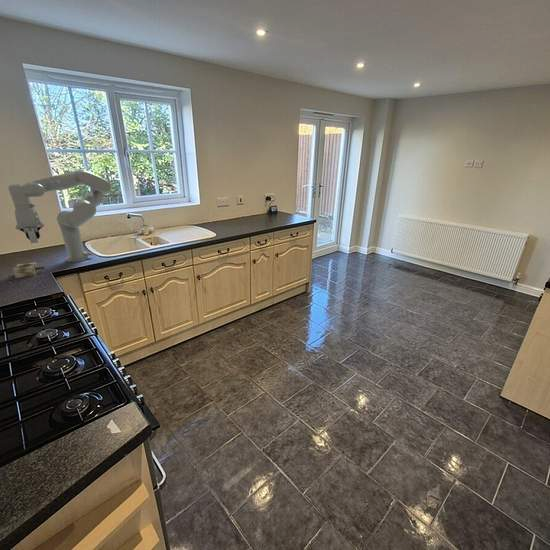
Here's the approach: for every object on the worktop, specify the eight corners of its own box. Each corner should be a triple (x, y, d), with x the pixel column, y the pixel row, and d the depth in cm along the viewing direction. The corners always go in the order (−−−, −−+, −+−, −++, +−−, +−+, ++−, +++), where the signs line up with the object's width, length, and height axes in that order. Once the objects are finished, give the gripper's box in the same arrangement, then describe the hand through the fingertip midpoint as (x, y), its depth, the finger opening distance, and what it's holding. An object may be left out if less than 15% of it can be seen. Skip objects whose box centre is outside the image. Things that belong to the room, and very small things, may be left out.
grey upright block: (39, 240, 180) (35, 225, 176) (37, 243, 175) (32, 227, 171) (32, 241, 178) (27, 226, 175) (30, 243, 173) (25, 228, 170)
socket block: (46, 269, 179) (44, 261, 177) (43, 274, 171) (41, 265, 169) (19, 272, 173) (17, 264, 172) (15, 277, 166) (12, 269, 164)
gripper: (42, 205, 175) (52, 235, 182) (7, 207, 168) (18, 239, 176) (40, 206, 169) (49, 238, 176) (3, 209, 162) (14, 242, 169)
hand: (34, 238), depth 176 cm, fingers closed on grey upright block, 3 cm apart
